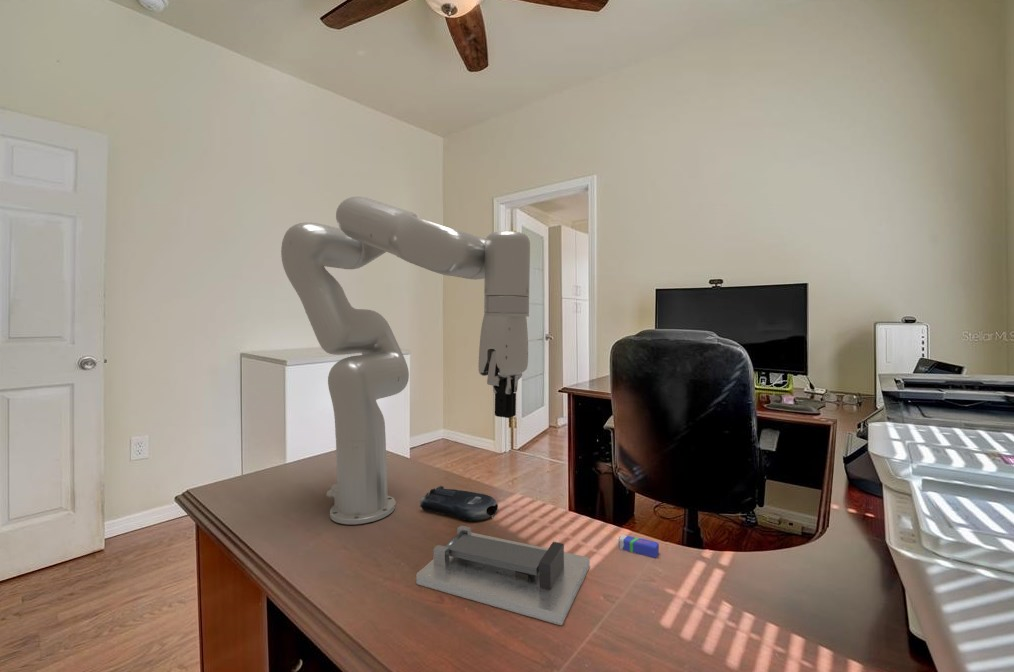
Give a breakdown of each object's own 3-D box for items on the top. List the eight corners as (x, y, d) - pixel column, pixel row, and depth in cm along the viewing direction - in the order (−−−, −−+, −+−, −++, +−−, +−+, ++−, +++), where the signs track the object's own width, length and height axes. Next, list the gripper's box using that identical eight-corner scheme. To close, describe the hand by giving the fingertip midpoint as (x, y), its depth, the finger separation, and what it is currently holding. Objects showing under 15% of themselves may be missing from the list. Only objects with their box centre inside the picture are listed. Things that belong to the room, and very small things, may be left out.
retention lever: (441, 555, 67) (440, 546, 67) (458, 540, 71) (457, 531, 71) (536, 577, 60) (536, 567, 60) (548, 558, 65) (548, 549, 65)
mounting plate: (416, 584, 63) (415, 550, 63) (465, 539, 76) (464, 511, 76) (561, 625, 54) (561, 586, 54) (589, 566, 67) (589, 534, 67)
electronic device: (418, 522, 87) (485, 524, 81) (416, 493, 87) (482, 493, 81) (443, 510, 95) (505, 511, 89) (441, 484, 96) (503, 483, 90)
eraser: (622, 545, 74) (622, 533, 74) (658, 554, 70) (658, 542, 70) (618, 550, 72) (618, 538, 72) (656, 560, 69) (655, 547, 69)
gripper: (506, 308, 81) (505, 405, 82) (463, 306, 68) (462, 423, 69) (544, 308, 78) (542, 410, 79) (506, 307, 64) (504, 429, 65)
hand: (505, 416), depth 74 cm, fingers closed
